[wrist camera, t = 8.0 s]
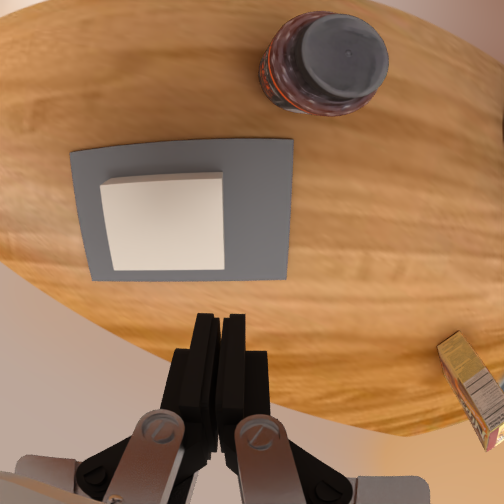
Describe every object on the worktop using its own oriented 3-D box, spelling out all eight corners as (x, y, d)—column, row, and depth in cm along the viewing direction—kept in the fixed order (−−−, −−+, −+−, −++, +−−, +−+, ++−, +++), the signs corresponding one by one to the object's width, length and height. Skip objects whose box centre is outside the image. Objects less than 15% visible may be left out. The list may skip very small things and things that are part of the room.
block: (221, 178, 21) (99, 185, 20) (224, 269, 24) (114, 270, 23) (223, 171, 23) (111, 177, 23) (225, 255, 26) (123, 256, 26)
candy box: (464, 361, 37) (511, 434, 23) (442, 377, 38) (485, 453, 24) (459, 328, 33) (519, 412, 19) (434, 346, 34) (488, 435, 20)
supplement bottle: (250, 45, 19) (264, -6, 9) (327, 38, 19) (394, -5, 9) (265, 118, 22) (291, 126, 12) (340, 109, 22) (417, 115, 12)
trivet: (292, 139, 23) (293, 139, 22) (285, 276, 28) (286, 279, 28) (72, 151, 22) (69, 152, 21) (94, 278, 27) (92, 281, 27)
